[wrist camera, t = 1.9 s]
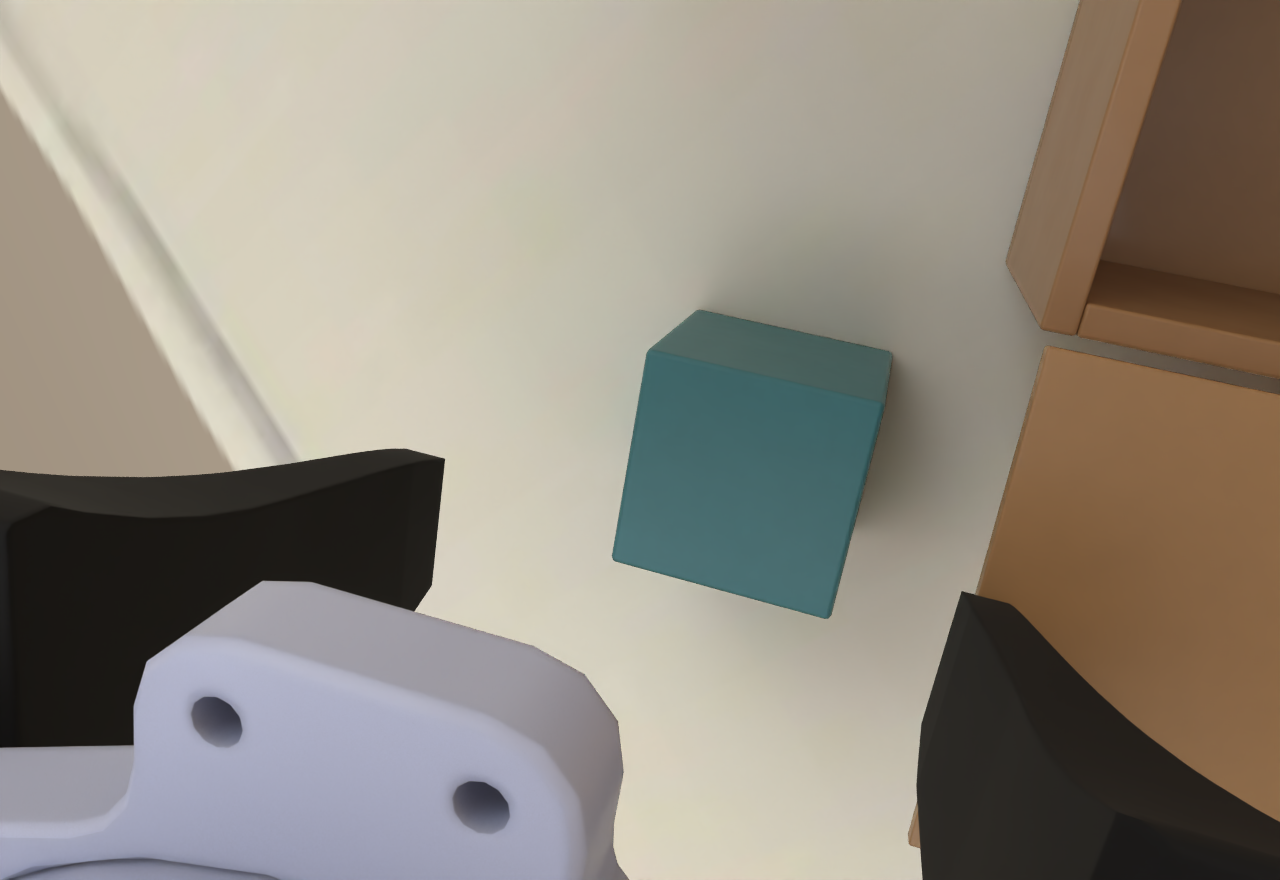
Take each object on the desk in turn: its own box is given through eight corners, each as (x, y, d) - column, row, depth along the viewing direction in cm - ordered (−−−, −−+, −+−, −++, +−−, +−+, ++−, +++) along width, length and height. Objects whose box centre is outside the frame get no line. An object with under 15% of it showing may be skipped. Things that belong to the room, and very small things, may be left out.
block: (846, 534, 21) (829, 622, 18) (663, 488, 22) (609, 561, 18) (893, 351, 20) (885, 404, 16) (696, 308, 21) (645, 348, 17)
